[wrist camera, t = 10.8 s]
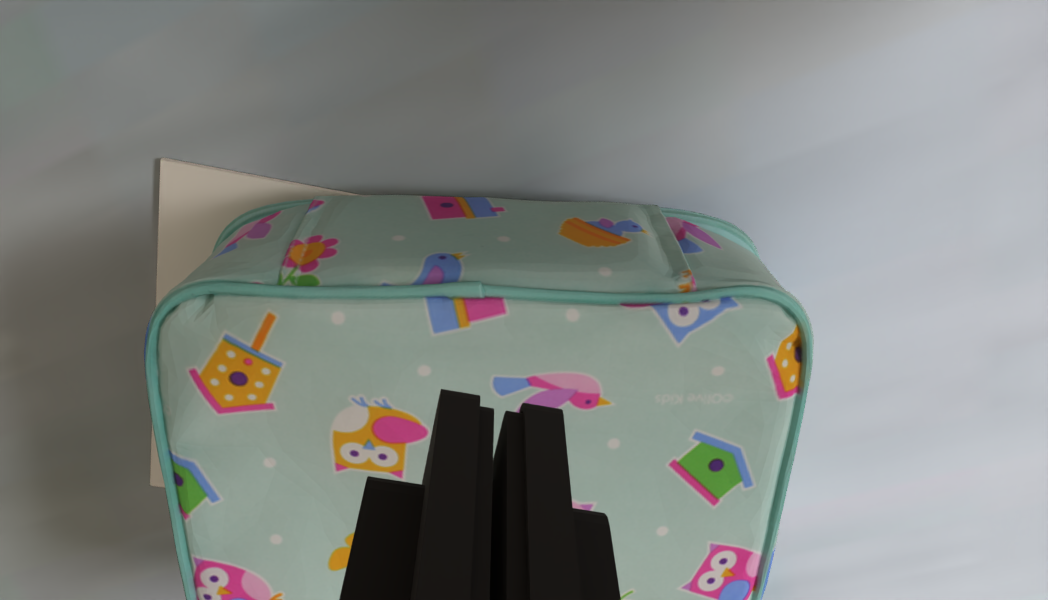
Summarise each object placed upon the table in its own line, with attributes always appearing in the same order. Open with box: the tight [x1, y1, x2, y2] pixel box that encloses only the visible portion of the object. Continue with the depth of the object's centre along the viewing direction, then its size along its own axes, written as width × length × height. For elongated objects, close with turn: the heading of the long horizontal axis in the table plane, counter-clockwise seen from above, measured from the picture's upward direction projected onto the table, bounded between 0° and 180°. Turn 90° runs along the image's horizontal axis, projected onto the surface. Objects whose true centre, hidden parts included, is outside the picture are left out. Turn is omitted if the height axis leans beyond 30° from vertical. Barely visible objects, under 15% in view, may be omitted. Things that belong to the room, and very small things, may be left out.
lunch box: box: [144, 195, 814, 600], centre depth 39 cm, size 27×10×21 cm
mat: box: [150, 158, 359, 488], centre depth 44 cm, size 18×26×1 cm
